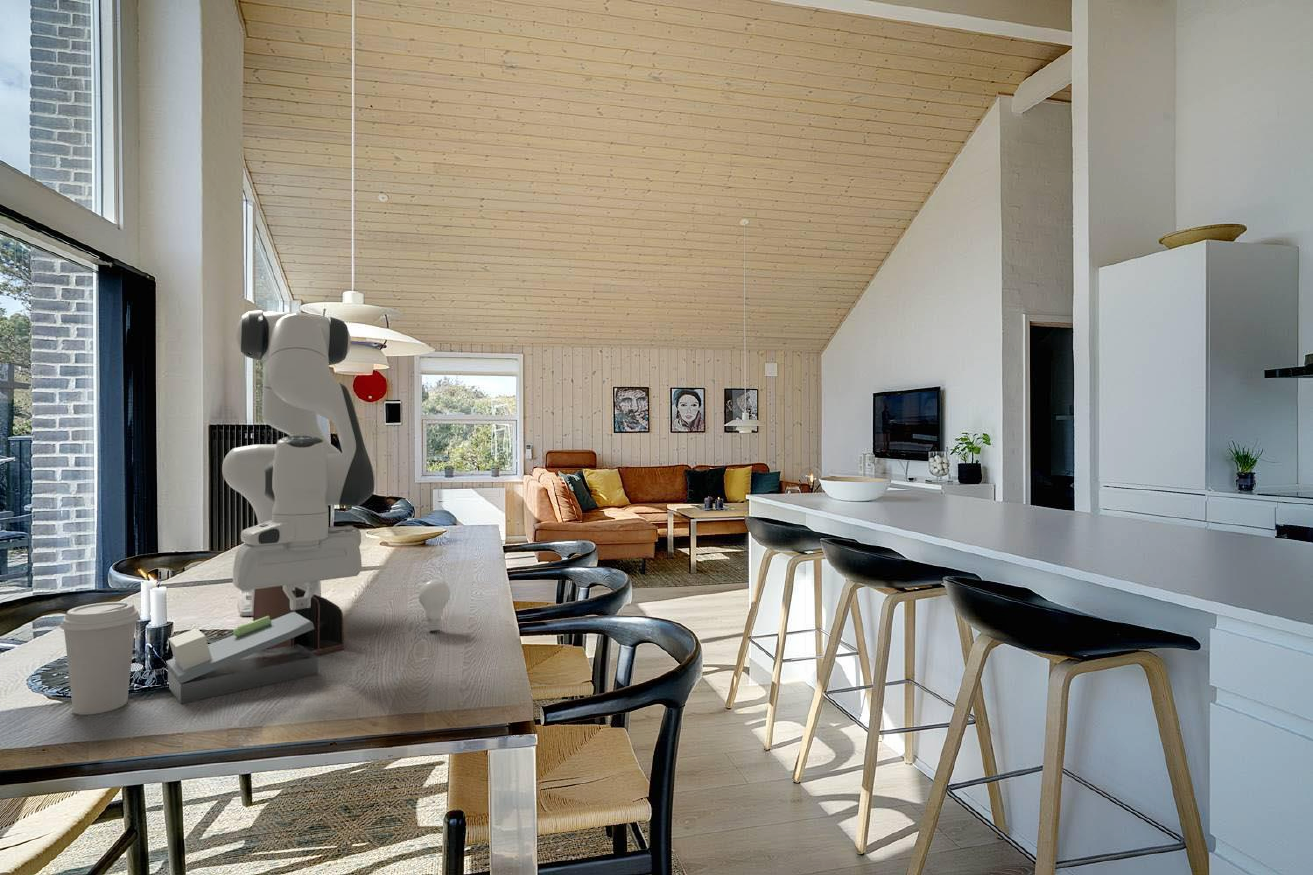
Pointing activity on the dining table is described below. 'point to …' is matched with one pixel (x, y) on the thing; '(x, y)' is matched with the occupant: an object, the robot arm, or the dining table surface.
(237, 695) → the dining table surface
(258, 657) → the base
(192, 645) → the tilted grey plate
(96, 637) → the coffee cup
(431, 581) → the lightbulb
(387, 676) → the dining table surface
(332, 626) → the letter holder
